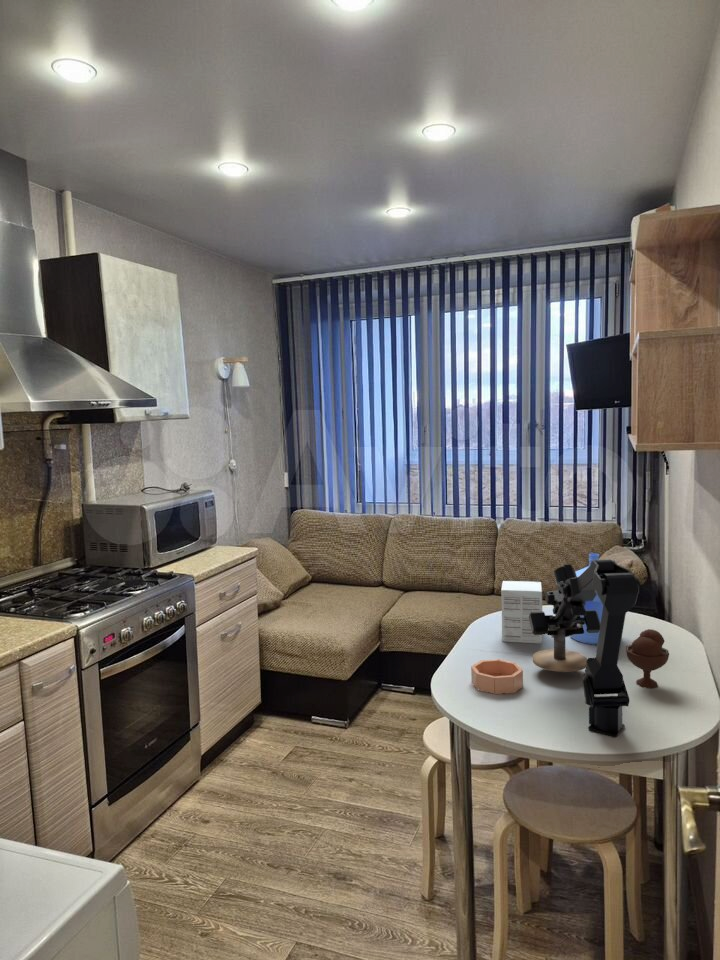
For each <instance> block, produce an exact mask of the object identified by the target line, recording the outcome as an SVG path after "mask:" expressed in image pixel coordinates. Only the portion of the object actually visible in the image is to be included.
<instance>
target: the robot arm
mask: <svg viewBox="0 0 720 960" xmlns="http://www.w3.org/2000/svg"><path fill="white" fill-rule="evenodd" d="M588 566H589V565H588ZM588 566H587V567H588ZM553 576H554V580H555V584H556V586H557V589H554V590H551V591H546V593H545V595H544V601H545V603H546V604H547V605H551V606H553V608H552V613H553V614H547V615H546V613H545V612H544V611H543V610H542V611H540V612H531V613H530V614H529V621H530V626H531V630H532V633H533V634H534V635H542V636H543V635H546V636H550V637H551V638H552V639H554V637H555V636H557V635H558V634H557V630H556V629H557V628H559V630H565V638H569V637H571V636H574V635H579V634H584V629H583V626H584V624H586V626H587V629H586V631H587V632H588V633H598V632H599V638H598V645H597V644H596V652H595V653H596V654H595V657H588V658H587V661H586V668H584V669H585V670H584V675H582V676H583V677H582V680H581V681H582V687H583V694H584V698H585V700H584V701H585V705H588V724H589V726H588V727H587V728H588V731H591V732H592V731H593V732H596V733H600V734H603V735H607V736H610V737H613V738H617V737H618V736H619V734H621V732H622V731H623V730H624V729H625V728H626V725H625V724H623V707H629V704H630V697H629V694H628V690H627V686H626V684H625V681H624V674H623V673H622V672H621V670H620V668H619V666H618V664H619V656H620V651H621V645H622V637H623V633H624V625H625V620H626V615H627V613H628V612H629V611H630V610H631V609H632V608H633V607H634V606H635V605H636V604H637V600H638V597H639V596H638V595H639V594H640V591H641V583H640V580H639V579H638V577H637V576H636V575H635V573H633V572H632V570H630V569H628V568H626V567H624V566H621V565H619V564H618V563H617V562H616V561H615V560H613V559H599V560H594V561H592V562H591V565H590V566H589V567H588V568H587V569H586V570H585V571H584V572H583V573H582V574H581V575H580V576H579V577H577V575H576V569H575V567H573V565H572V563H571V564H570V563H569V564H568V563H566V564H563V566H560V567H558V568H556V569H555V570H554V571H553ZM596 591H597V592H596ZM596 595H598V597H599V598H600V600H601V602H602V604H603V611H602V618H601V623H600V620H599V617H598V613H597V612H596V611H595V610H585V605H586V601H593V600H594V598H595V597H596ZM582 615H583V616H584V618H582ZM596 695H599V696H596ZM600 695H601V696H600Z"/></svg>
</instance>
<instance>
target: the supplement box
mask: <svg viewBox="0 0 720 960" xmlns="http://www.w3.org/2000/svg"><path fill="white" fill-rule="evenodd" d="M500 590H501V591H500V592H501V596H500V597H501V641H502V642H506V643H507V642H509V643H510V642H511V643H522V644H523V643H525V644H538V645H539V644H543V635H534V634H533V633H532V630H531V626H530V621H529V614H530V613H531V612H540V611H543V588H542V582H541V581H522V580H519V581H518V580H517V581H516V580H502V583H501V589H500Z"/></svg>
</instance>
